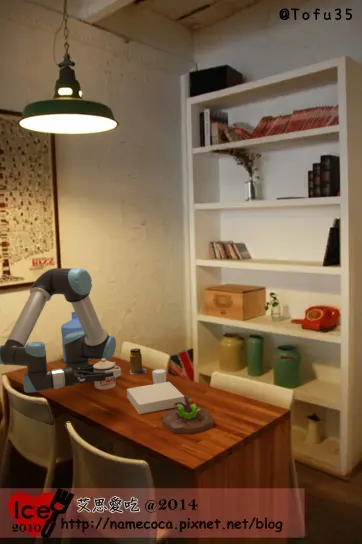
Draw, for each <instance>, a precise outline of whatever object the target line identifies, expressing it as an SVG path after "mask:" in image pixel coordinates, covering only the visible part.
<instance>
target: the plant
mask: <svg viewBox="0 0 362 544" xmlns="http://www.w3.org/2000/svg"><path fill="white" fill-rule="evenodd" d="M184 399H185V404H183V403H182V402H177V403H174V404H173V406H174V409H171V410H169V411H165V412H164V413H163V414H161V415H160V420H161V425H162V426H163V427H164V428H166V429H167V430H169V431H170V432H171V433H172V434H187V435H188V434H189V433H190V434H196V433H201V432H200V431H202V432H204V431H206V430H208V429H211V428H210V427H212V428H214V427H215V424H214V423H215V421H214V419H213V416H212V414H211V412H210V411H208V410H207V408H201V407H200V406H197V404H196V403H191V402H192V401H193V399H192V397H190V396H187V395H184ZM190 403H191V404H190ZM177 404H179V407H176V406H177ZM180 404H181V405H180ZM205 429H206V430H205Z"/></svg>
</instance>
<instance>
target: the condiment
mask: <svg viewBox="0 0 362 544" xmlns="http://www.w3.org/2000/svg"><path fill="white" fill-rule="evenodd" d="M141 353H142V352H141V348H136V347H135V348H131V349H130V355H129V363H130V369H129V373H130V375H139V374H145V373H146V374H147V373H148V372H147V368H143V360H142V359H143V356H142V354H141Z"/></svg>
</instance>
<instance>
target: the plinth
mask: <svg viewBox="0 0 362 544" xmlns="http://www.w3.org/2000/svg"><path fill="white" fill-rule="evenodd" d="M184 396H185V395H184V394H182V392H180V390H178V389H177V388H176V387H175V386H174V385H173V384H172V383H171V382H170V381H166V382H164V383H158V384H154V383H153V384H148V385H141V386H135V387H130V388H127V389H126V397H127V399H128V400H129V402H130V403H131V404H132V406H133V407H134V409H135V410H136V412H137V413H138V414H139V415H144V414H148V413H152V412H157V411H163V410H167V409H173V408H174V409H175V408H179V404H177V406H176V407H174V406H173V404H174V403H177V402H182V403H183V404H186V400H185V399H184ZM180 405H181V404H180Z"/></svg>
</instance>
